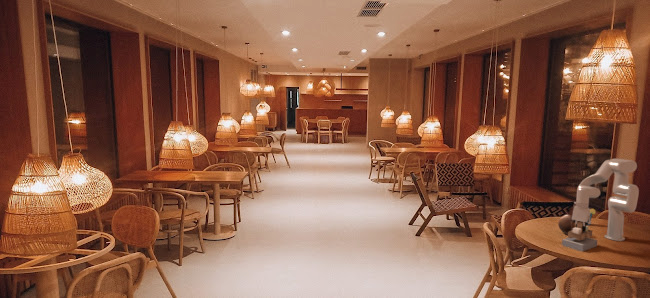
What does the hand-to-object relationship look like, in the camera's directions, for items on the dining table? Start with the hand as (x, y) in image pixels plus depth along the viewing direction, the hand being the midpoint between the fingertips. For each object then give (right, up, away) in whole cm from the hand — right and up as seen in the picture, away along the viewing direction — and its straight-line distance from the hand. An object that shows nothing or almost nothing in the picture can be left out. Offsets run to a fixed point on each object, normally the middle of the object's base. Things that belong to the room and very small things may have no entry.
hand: (580, 230), depth 298 cm
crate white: (-4, -2, -2) cm, 5 cm away
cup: (+36, -5, +52) cm, 63 cm away
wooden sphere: (+8, -9, +27) cm, 30 cm away
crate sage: (+4, -2, +3) cm, 5 cm away
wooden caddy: (0, -5, +1) cm, 5 cm away
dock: (0, -11, +1) cm, 12 cm away
